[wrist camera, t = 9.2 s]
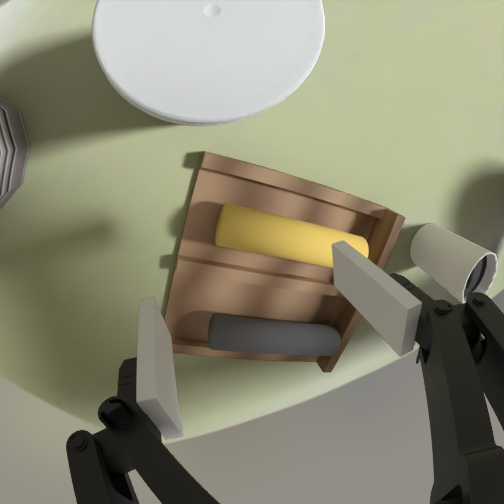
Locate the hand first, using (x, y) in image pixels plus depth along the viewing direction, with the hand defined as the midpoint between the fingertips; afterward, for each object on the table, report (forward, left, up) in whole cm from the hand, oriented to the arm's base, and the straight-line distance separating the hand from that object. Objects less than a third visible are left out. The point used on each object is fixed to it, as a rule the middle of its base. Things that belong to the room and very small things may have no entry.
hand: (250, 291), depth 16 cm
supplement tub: (+6, -12, -13) cm, 18 cm away
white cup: (-26, -3, -13) cm, 30 cm away
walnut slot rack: (-7, +5, -13) cm, 15 cm away
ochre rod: (-7, +1, -12) cm, 14 cm away
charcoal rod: (-9, +11, -12) cm, 19 cm away
